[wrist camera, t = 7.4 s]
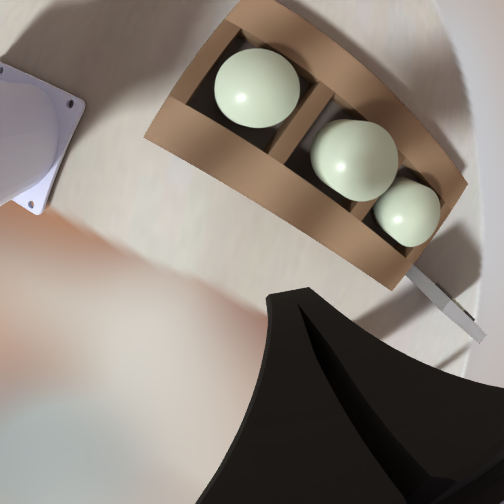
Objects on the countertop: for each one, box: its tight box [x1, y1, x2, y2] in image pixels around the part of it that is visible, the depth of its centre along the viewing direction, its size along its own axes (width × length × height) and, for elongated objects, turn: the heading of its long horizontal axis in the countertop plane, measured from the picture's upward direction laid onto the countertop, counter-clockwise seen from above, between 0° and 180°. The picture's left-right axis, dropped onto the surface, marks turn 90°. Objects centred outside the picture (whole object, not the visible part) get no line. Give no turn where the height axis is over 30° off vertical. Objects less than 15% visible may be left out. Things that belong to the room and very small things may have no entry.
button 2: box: [214, 48, 300, 128], centre depth 14 cm, size 4×4×2 cm
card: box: [405, 265, 486, 343], centre depth 21 cm, size 9×1×6 cm, turn 56°
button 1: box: [373, 176, 440, 247], centre depth 18 cm, size 4×4×2 cm
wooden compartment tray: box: [144, 0, 468, 291], centre depth 16 cm, size 19×10×2 cm, turn 56°
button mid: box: [310, 119, 398, 201], centre depth 14 cm, size 4×4×2 cm
